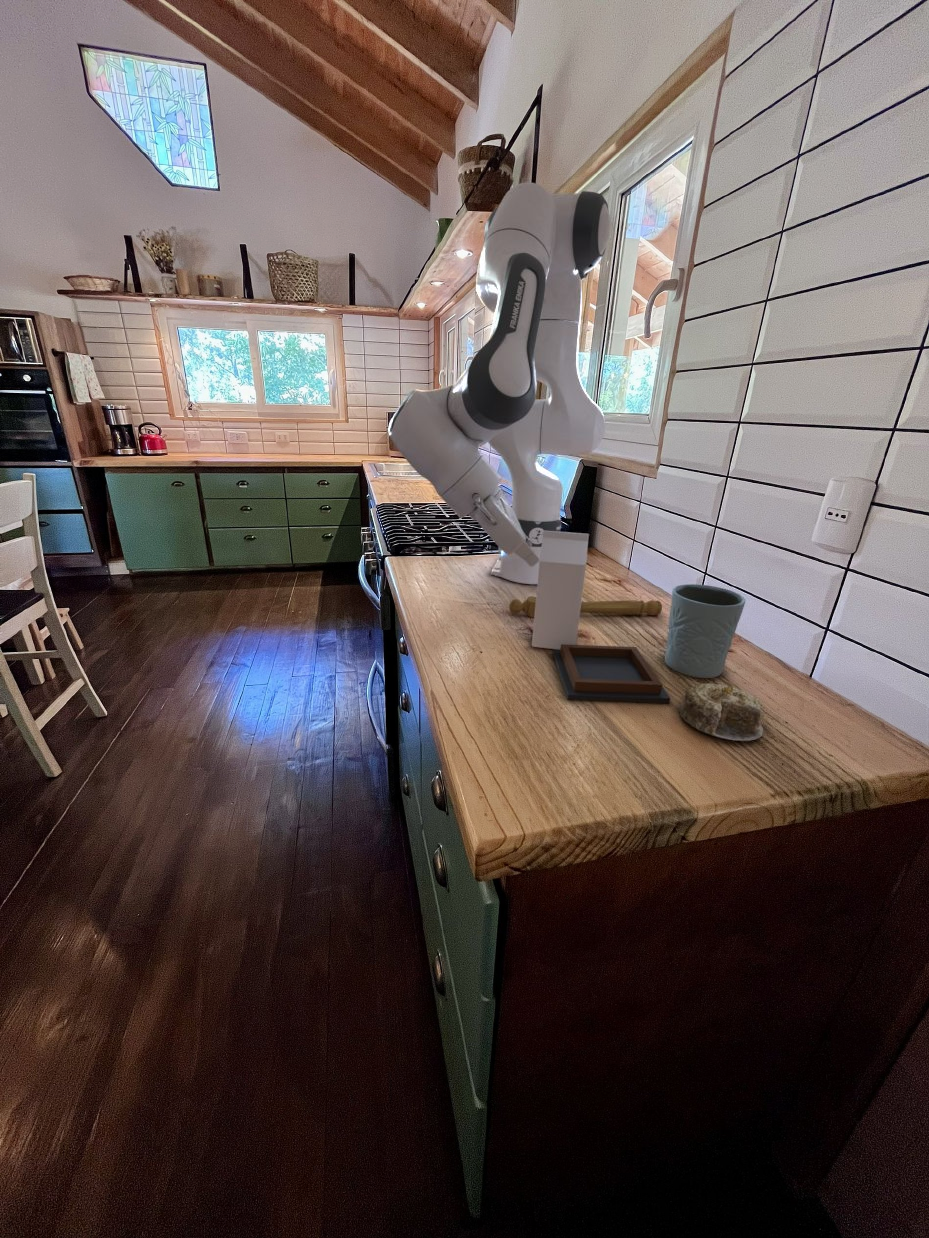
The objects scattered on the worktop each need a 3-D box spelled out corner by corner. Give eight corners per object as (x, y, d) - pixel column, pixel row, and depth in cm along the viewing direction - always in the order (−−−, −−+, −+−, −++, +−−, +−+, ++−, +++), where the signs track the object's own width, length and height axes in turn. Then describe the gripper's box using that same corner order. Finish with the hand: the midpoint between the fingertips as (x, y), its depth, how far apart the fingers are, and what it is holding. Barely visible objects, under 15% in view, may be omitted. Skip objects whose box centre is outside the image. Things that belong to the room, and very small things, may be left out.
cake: (661, 709, 68) (667, 673, 66) (721, 701, 70) (728, 666, 69) (715, 748, 59) (724, 707, 57) (782, 737, 61) (792, 698, 60)
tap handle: (664, 603, 96) (511, 602, 94) (661, 617, 97) (509, 617, 95) (657, 597, 99) (508, 596, 97) (654, 612, 100) (507, 611, 98)
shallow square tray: (552, 654, 81) (553, 641, 80) (637, 657, 81) (640, 644, 80) (567, 699, 68) (569, 685, 67) (669, 703, 68) (672, 688, 67)
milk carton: (574, 652, 82) (589, 539, 75) (531, 647, 83) (542, 535, 76) (574, 635, 88) (588, 529, 81) (534, 630, 90) (544, 526, 82)
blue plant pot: (694, 685, 73) (713, 609, 68) (644, 656, 81) (658, 587, 77) (741, 672, 77) (761, 600, 72) (689, 646, 85) (704, 580, 81)
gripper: (491, 484, 66) (557, 559, 69) (487, 468, 85) (539, 527, 88) (456, 517, 67) (523, 588, 71) (460, 494, 86) (512, 551, 90)
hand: (532, 554), depth 80 cm, fingers open, 8 cm apart
